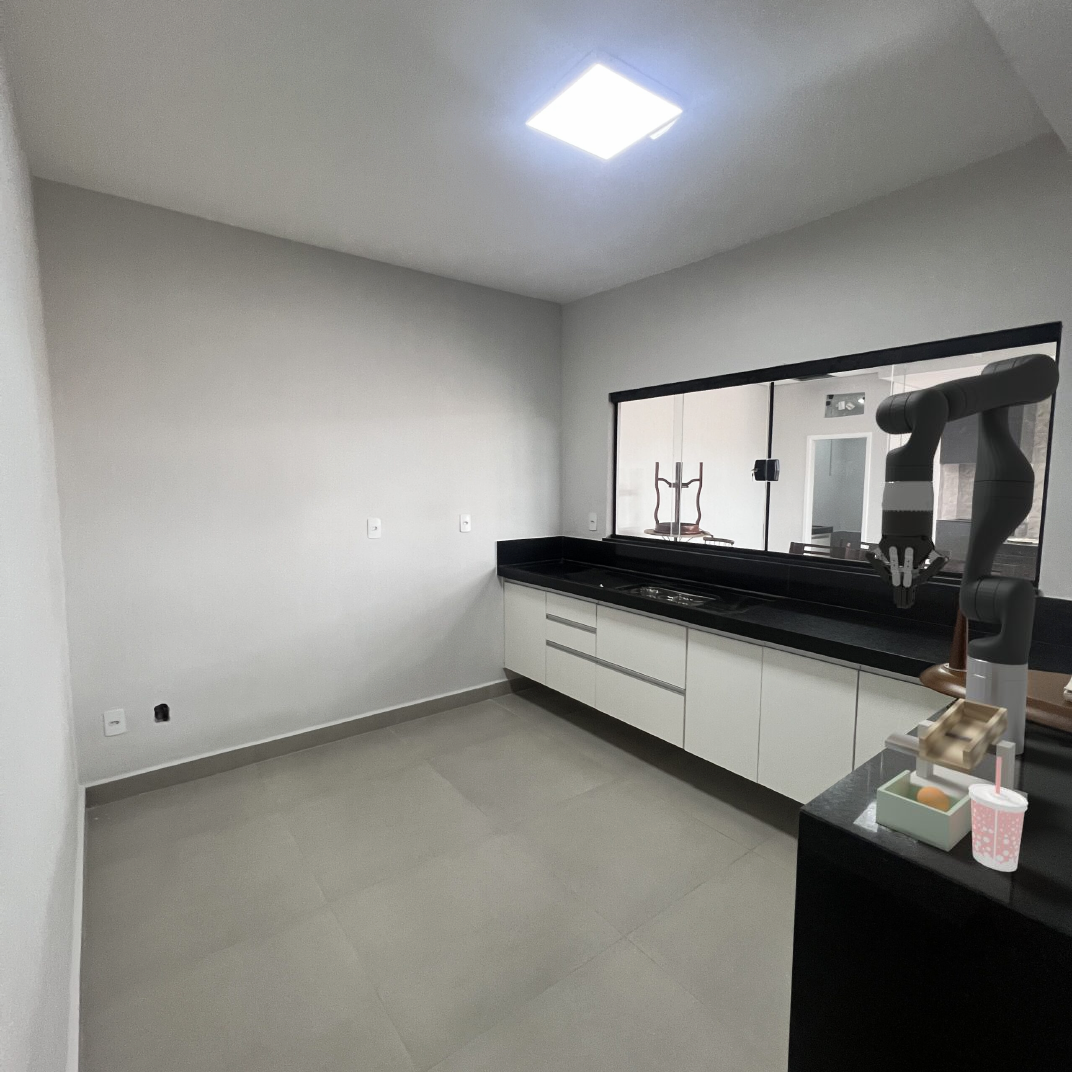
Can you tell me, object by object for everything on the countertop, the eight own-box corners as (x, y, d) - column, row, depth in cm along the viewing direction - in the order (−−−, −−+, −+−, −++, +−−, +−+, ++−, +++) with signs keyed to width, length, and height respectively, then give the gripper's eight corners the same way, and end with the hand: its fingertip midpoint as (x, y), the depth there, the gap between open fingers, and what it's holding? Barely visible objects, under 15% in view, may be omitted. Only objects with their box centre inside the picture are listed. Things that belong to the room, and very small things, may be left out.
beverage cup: (1025, 859, 77) (1030, 756, 76) (1023, 882, 73) (1029, 772, 72) (968, 841, 81) (972, 743, 81) (963, 861, 77) (967, 757, 76)
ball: (911, 791, 87) (913, 814, 88) (942, 802, 84) (944, 826, 85) (922, 777, 90) (923, 799, 90) (952, 787, 86) (954, 810, 87)
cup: (906, 799, 93) (908, 768, 93) (976, 824, 86) (977, 791, 85) (875, 822, 86) (876, 789, 86) (948, 851, 79) (949, 815, 79)
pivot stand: (927, 767, 104) (929, 712, 104) (1027, 799, 93) (1030, 738, 93) (899, 787, 97) (901, 728, 96) (1003, 824, 86) (1007, 757, 85)
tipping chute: (928, 715, 107) (927, 690, 106) (1013, 737, 97) (1013, 710, 96) (885, 755, 96) (884, 727, 95) (976, 784, 86) (976, 754, 85)
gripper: (960, 508, 98) (955, 610, 99) (876, 508, 109) (872, 600, 109) (943, 508, 93) (939, 615, 94) (857, 508, 104) (854, 604, 105)
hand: (903, 607), depth 102 cm, fingers closed
